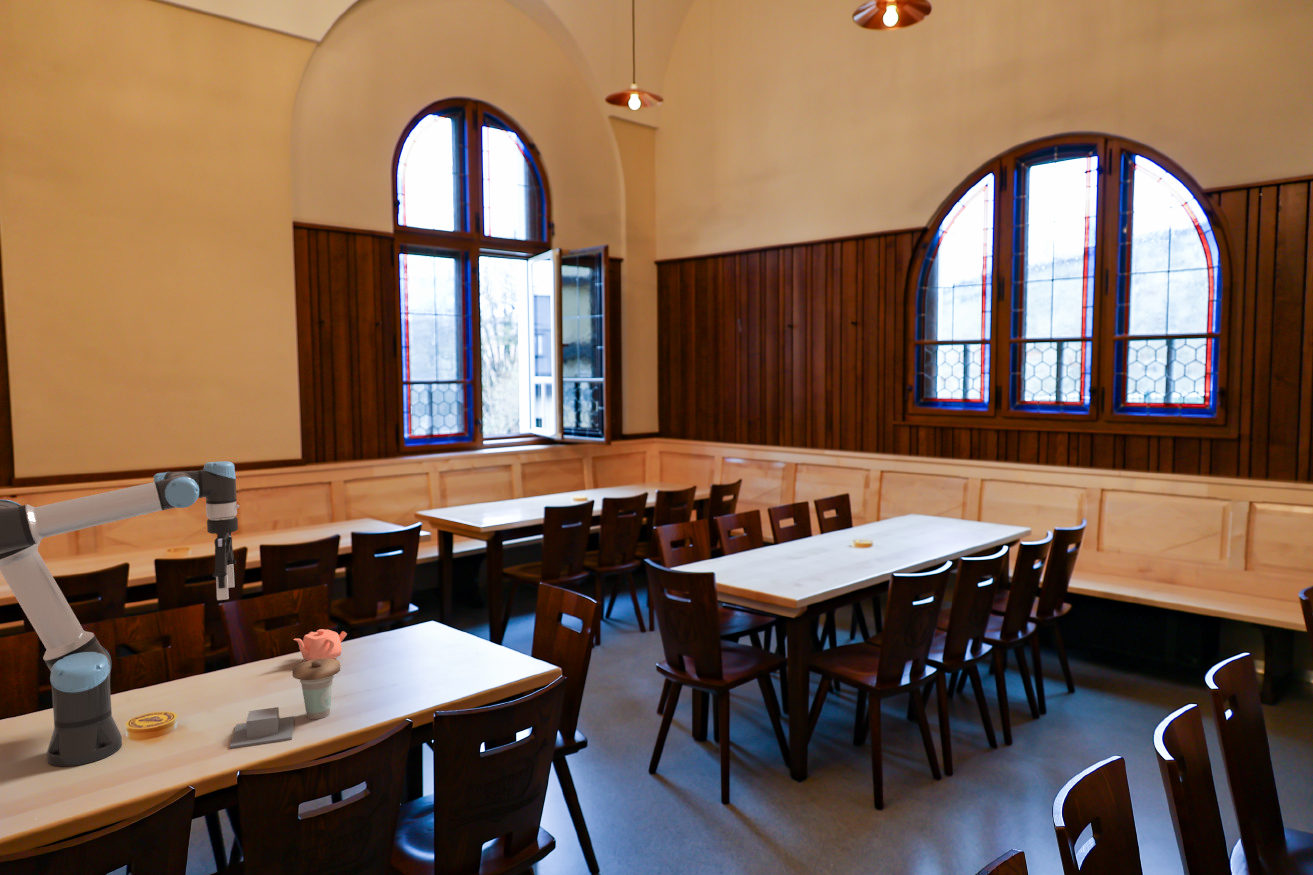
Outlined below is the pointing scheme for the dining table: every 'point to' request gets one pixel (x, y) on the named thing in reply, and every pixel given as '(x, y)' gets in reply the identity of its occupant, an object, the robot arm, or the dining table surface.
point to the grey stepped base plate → (262, 728)
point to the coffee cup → (317, 697)
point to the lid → (316, 669)
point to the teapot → (321, 645)
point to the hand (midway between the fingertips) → (226, 593)
